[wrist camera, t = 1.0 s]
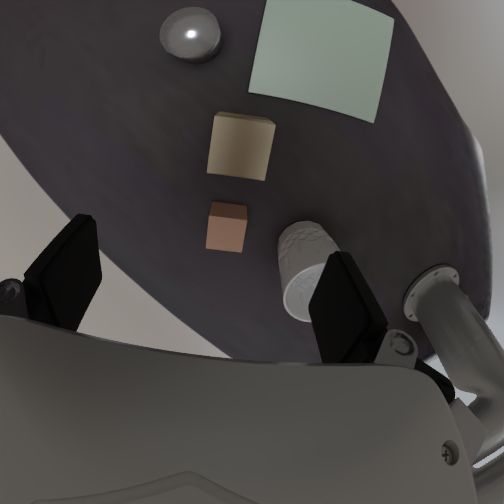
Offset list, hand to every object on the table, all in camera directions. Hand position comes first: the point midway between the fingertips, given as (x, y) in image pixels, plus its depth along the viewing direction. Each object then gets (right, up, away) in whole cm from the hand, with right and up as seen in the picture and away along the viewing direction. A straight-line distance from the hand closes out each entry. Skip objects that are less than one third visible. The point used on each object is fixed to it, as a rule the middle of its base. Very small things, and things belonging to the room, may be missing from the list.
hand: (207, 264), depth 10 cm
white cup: (+8, +2, +25) cm, 26 cm away
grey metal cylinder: (-4, +22, +11) cm, 25 cm away
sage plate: (+9, +22, +12) cm, 27 cm away
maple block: (0, +13, +17) cm, 21 cm away
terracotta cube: (-1, +4, +23) cm, 23 cm away
